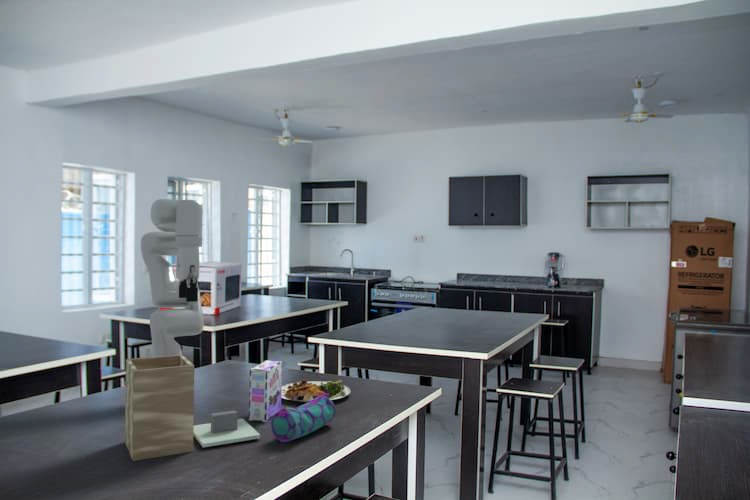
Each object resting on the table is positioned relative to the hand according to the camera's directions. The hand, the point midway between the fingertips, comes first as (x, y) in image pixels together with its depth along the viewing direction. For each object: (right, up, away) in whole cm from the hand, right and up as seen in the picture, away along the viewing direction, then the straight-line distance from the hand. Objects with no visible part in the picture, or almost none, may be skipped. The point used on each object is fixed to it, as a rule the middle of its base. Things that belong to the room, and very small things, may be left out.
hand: (188, 299), depth 174 cm
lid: (+12, -38, -5) cm, 40 cm away
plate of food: (+32, -38, +39) cm, 64 cm away
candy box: (+20, -39, +15) cm, 46 cm away
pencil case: (+34, -40, -1) cm, 52 cm away
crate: (-4, -39, -14) cm, 41 cm away
